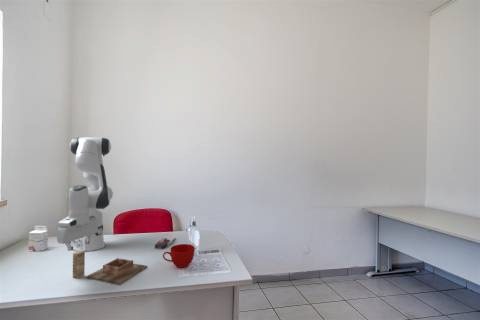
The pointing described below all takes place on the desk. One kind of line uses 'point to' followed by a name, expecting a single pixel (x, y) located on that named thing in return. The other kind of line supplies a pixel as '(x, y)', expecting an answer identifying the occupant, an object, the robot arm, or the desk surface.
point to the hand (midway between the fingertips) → (79, 247)
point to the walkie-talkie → (163, 243)
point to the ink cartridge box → (38, 238)
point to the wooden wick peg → (78, 264)
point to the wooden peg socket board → (117, 271)
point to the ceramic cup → (181, 255)
